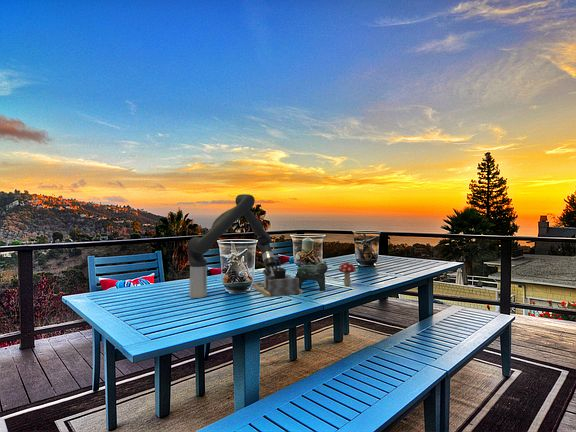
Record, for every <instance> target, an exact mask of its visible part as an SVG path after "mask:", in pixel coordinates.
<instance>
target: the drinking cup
mask: <svg viewBox="0 0 576 432" xmlns="http://www.w3.org/2000/svg"><path fill="white" fill-rule="evenodd" d="M278 262H279V263H278V265H279V266H278V268H275V269H273V270H274V278H275V279H285V274H287V273H286V272H287V269H286V268H284V267H281V258H279V259H278Z"/></svg>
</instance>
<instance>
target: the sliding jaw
mask: <svg viewBox="0 0 576 432" xmlns="http://www.w3.org/2000/svg"><path fill="white" fill-rule="evenodd" d="M286 278H291V274H289V273H288V274H287V273H286V274H285V279H286ZM274 279H275V278H274V275H272V276H266V275H263V282H264V286H263V289H264V290H266V291H267V292H268V280H274Z"/></svg>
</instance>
